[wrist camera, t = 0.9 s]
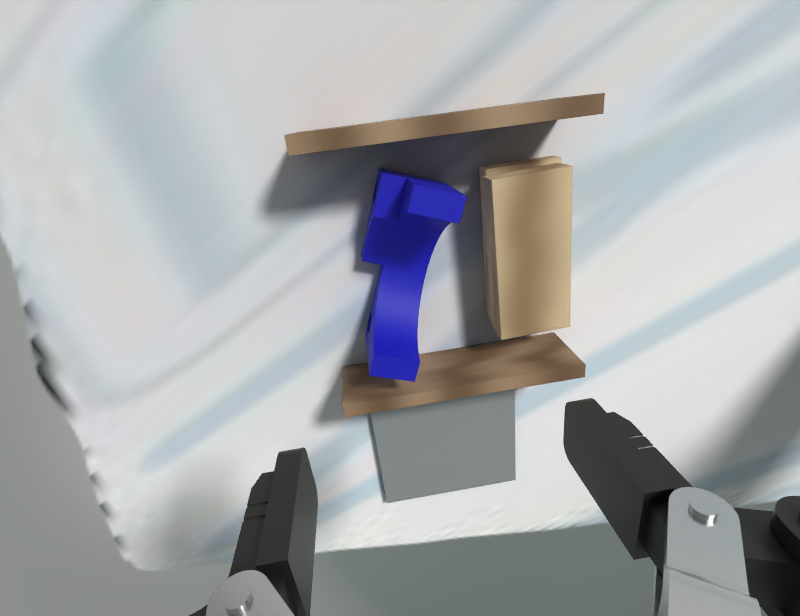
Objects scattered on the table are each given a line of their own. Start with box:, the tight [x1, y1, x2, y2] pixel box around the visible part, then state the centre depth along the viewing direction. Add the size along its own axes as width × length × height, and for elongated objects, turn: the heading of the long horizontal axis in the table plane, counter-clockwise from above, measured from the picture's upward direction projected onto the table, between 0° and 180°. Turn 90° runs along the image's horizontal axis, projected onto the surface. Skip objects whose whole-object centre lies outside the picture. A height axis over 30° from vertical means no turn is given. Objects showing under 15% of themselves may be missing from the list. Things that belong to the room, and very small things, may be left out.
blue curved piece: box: [361, 168, 467, 382], centre depth 28 cm, size 12×4×6 cm, turn 167°
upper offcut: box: [482, 163, 572, 340], centre depth 29 cm, size 5×11×2 cm, turn 9°
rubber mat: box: [371, 389, 515, 503], centre depth 37 cm, size 12×11×1 cm
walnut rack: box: [284, 93, 605, 418], centre depth 28 cm, size 17×18×5 cm
